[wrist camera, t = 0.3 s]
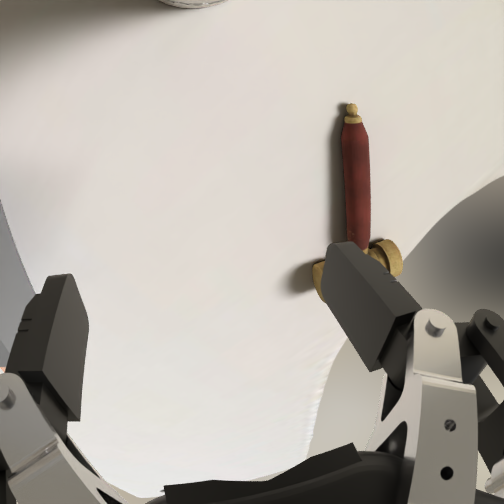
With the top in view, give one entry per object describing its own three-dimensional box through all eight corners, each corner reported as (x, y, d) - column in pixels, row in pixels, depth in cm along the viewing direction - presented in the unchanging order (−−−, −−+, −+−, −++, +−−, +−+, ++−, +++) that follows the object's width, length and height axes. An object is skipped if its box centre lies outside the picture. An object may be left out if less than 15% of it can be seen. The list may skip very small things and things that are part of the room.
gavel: (311, 115, 22) (410, 102, 23) (289, 108, 26) (380, 95, 27) (328, 312, 34) (401, 282, 35) (312, 287, 38) (381, 261, 39)
